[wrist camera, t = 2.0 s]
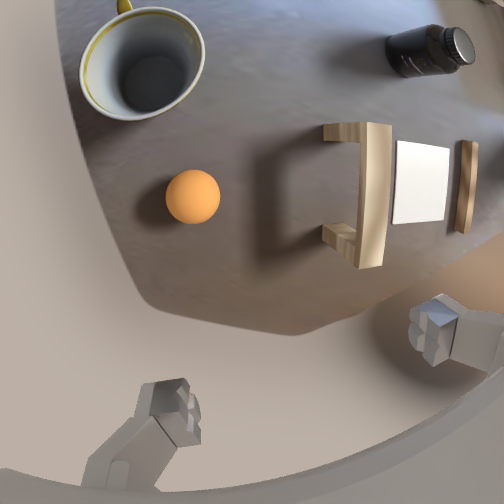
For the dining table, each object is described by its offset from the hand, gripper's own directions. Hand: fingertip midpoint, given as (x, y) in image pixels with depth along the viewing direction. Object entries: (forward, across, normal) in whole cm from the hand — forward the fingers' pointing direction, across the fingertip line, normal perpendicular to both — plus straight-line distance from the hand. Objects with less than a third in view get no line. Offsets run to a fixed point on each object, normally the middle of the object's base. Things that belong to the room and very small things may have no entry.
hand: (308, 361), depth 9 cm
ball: (+22, +4, -4) cm, 23 cm away
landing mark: (+27, -28, +1) cm, 39 cm away
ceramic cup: (+23, +6, -19) cm, 31 cm away
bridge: (+26, -12, -1) cm, 29 cm away
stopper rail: (+28, -39, +3) cm, 48 cm away
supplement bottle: (+26, -28, -18) cm, 42 cm away
